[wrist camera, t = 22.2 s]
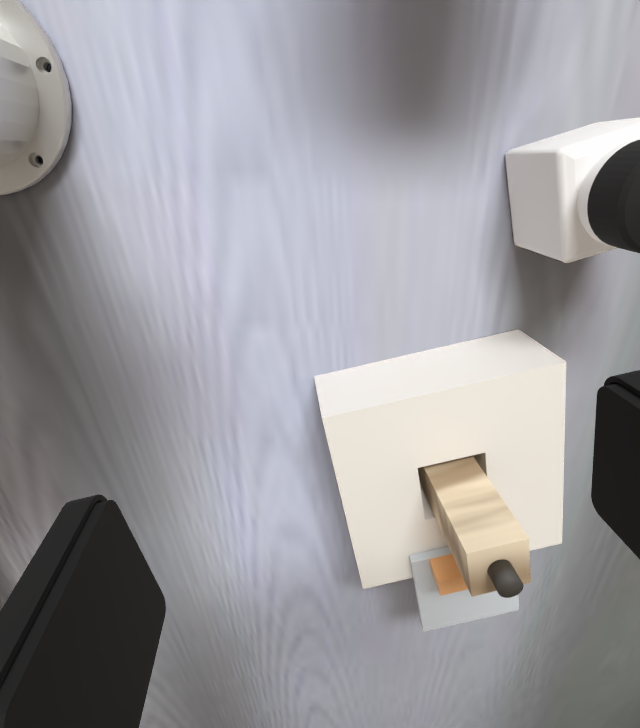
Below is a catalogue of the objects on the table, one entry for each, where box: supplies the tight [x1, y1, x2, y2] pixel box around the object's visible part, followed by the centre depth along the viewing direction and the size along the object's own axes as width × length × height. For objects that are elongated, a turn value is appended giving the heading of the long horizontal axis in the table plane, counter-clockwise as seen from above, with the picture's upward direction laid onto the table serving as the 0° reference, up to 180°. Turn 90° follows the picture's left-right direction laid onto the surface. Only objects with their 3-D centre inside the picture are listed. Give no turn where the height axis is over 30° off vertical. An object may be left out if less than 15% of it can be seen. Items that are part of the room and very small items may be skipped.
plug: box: [418, 455, 531, 598], centre depth 34 cm, size 4×4×14 cm
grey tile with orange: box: [409, 546, 519, 632], centre depth 39 cm, size 9×9×3 cm
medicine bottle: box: [505, 118, 640, 263], centre depth 29 cm, size 7×7×12 cm
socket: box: [314, 329, 566, 589], centre depth 40 cm, size 18×18×7 cm
